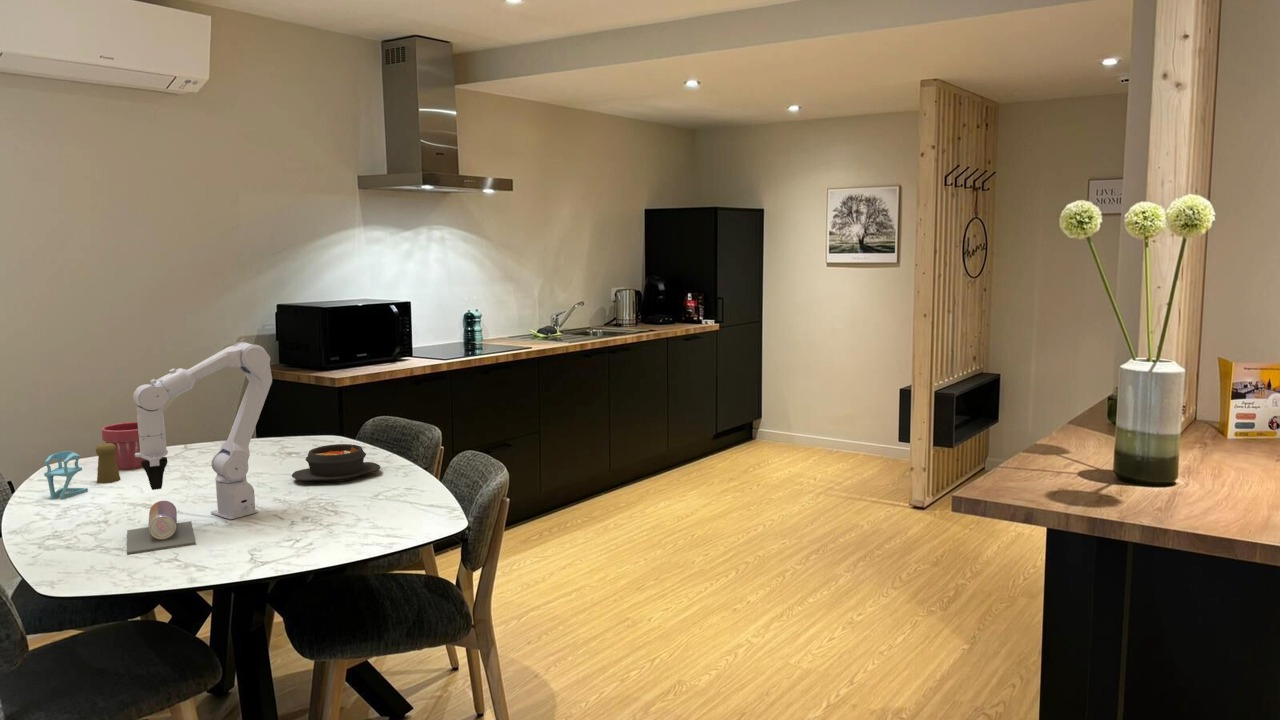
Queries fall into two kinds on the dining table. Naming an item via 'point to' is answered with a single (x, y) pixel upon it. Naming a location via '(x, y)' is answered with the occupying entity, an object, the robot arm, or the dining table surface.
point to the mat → (146, 542)
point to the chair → (63, 474)
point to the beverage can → (162, 520)
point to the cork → (107, 463)
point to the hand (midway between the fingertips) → (156, 488)
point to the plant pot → (124, 444)
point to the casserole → (335, 463)
